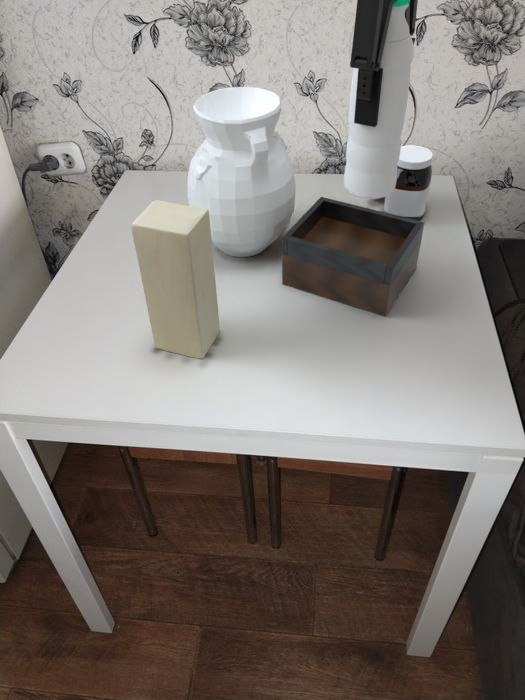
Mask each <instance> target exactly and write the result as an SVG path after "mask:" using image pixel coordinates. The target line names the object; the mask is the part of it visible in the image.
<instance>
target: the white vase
mask: <svg viewBox="0 0 525 700" xmlns="http://www.w3.org/2000/svg"><path fill="white" fill-rule="evenodd" d="M192 108H193V111H194V114H195V117H196V119H197V121H198V123H199V125H200V128H201V130H202V131H203V134H204V137H205V139H204V140H203V142H202V143H201V144H200V145H199V146H198V148H197V150H195V153H194V154H193V157H192V158H191V160H190V163H189V166H188V167H189V168H188V173H187V179H186V180H187V181H186V189H187V190H186V191H187V193H186V194H187V197H186V198H187V204H188V206H194V207H200V208H205V209H208V211H209V218H210V229H211V239H212V245H214V246H215V247H216V248H217V249H218V250H220V252H222V253H224V254H225V255H228V256H231V257H234V258H235V257H236V258H247V257H254V256H256V255H259V254H260V253H262V252H264V251H266V249H267V248H268V247H269V246H270V245H271V244H272V243H274V242H275V241H276V240H277V239H278V237H279V236H280V235H281V234H282V233H283V231H284V230H285V229H286V228H287V226H288V225H289V224H290V222H291V220H292V218H293V215H294V211H295V205H296V191H297V190H296V187H297V183H296V178H295V177H296V176H295V169H294V167H293V164H292V162H291V159H290V158H289V155H288V153H287V150H288V145H287V143H286V141H285V140H284V138H283V136H282V135H281V133H279V131H275V129H276V127H277V124H278V122H279V119H280V117H281V112H282V99H281V98H280V96H278V94H276V93H275V92H274V91H271V90H268V89H266V88H261V87H256V86H233V87H231V86H230V87H223V88H218V89H215V90H212V91H209V92H207V93H205V94H202V95H200V97H198V98H197V99H196V100H195V102H194V104H193V106H192Z"/></svg>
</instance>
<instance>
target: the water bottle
mask: <svg viewBox="0 0 525 700" xmlns="http://www.w3.org/2000/svg"><path fill="white" fill-rule="evenodd" d="M409 2H410V0H398V1H396V2H395V3H394V4H393V7H392V12H391V17H390V21H389V26H388V31H387V36H386V40H385V45H384V50H383V55H382V59H381V65H380V68H383V75H382V85H381V94H380V103H379V113H378V122H377V126H376V127H371V126H366V125H361V124H356V123H354V118H355V105H356V92H357V80H358V68H352V75H351V83H350V94H349V109H348V136H347V137H348V138H347V142H346V148H345V157H346V163H345V168H344V174H343V187H344V188H345V190H346V191H347V192H348V193H349V194H351V195H352V196H354V197H356V198H358V199H359V198H360V199H363V200H364V199H365V200H373V199H376V200H378V199H381V198H385V196H387V195H389V194H390V193H391V192H393V190H394V189H395V186H396V181H397V163H398V160H399V156H400V150H401V146H402V141H401V140H402V139H401V137H402V134H403V129H404V124H405V118H406V112H407V105H408V98H409V91H410V82H411V81H410V80H411V64H412V62H413V59H414V57H415V56H414V55H415V46H414V45H415V44H414V45H413V41H412V38H413V37H412V36H411V35H410V34H409V26H408V23H407V21H406V19H405V10H406V8H408V6H409V4H408V3H409ZM411 37H412V38H411Z"/></svg>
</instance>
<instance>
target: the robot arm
mask: <svg viewBox="0 0 525 700" xmlns="http://www.w3.org/2000/svg"><path fill="white" fill-rule="evenodd" d="M396 1H398V0H357V1H356V9H355V19H354V28H353V36H352V45H351V46H352V47H351V54H350V61H349V67H350V68H352V69H353V68H358V80H357V92H356V105H355V118H354V123H356V124H361V125H366V126H371V127H376V126H377V122H378V113H379V103H380V94H381V85H382V75H383V68H380V65H381V59H382V55H383V50H384V45H385V40H386V36H387V31H388V26H389V21H390V17H391V12H392V7H393V4H394V3H395V2H396ZM418 2H419V0H410V2H409V3H408V4H409V6H408V8H406V10H405V19H406V21H407V23H408V26H409V34H410V35H411V38H412V41H413V45H415V42H416V37H412V36H414V34H415V32H416V21H417V13H418V12H417V11H418Z"/></svg>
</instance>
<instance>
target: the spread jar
mask: <svg viewBox="0 0 525 700" xmlns="http://www.w3.org/2000/svg"><path fill="white" fill-rule="evenodd" d="M433 157H434V154H433V152H432V151H431V150H430V149H429V148H427V147H424V146H421V145H417V144H416V145H415V144H405V145H401V150H400V156H399V160H398V163H397V181H396V186H395V189H394V190H393V192H391V193H390V194H389V195H387V196H385V197H384V203H383V204H384V206H383V212H385V213H389V214H393V215H397V216H401V217H405V218H409V219H413V220H417V221H418V220H419V219H421V218H422V217H424V214H425V212H426V209H427V203H428V198H429V193H430V187H431V181H432V175H433V166H432V162H433ZM372 200H374V201H375V200H377V199H372Z"/></svg>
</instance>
